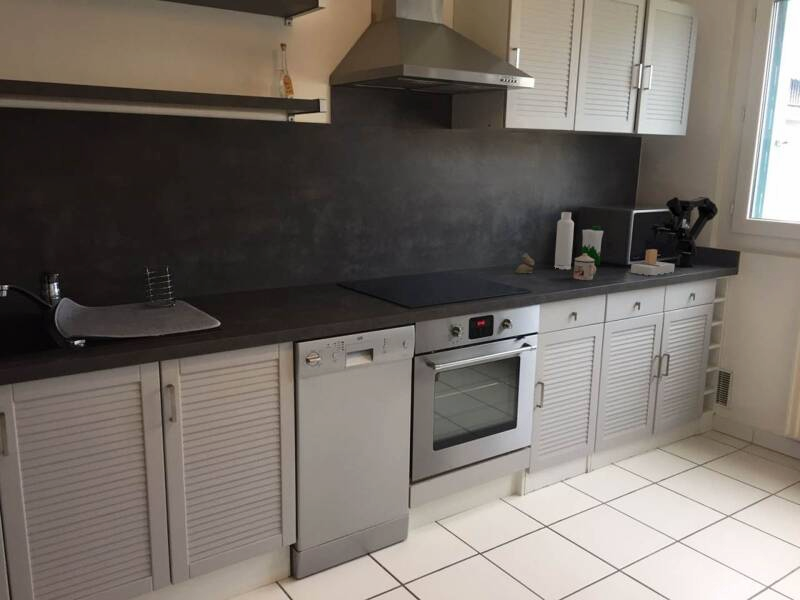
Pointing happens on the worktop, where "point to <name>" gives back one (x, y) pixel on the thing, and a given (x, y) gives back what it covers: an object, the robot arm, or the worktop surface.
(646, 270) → the white flat block
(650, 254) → the tan upright block
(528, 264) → the chocolate bunny
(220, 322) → the worktop surface
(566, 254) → the bottle
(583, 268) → the teacup with lid
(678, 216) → the robot arm
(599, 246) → the white green tumbler
